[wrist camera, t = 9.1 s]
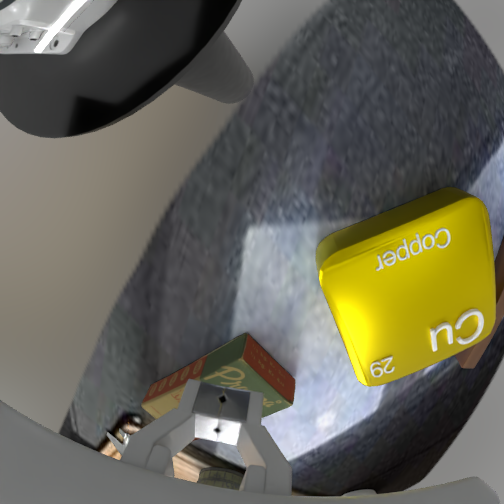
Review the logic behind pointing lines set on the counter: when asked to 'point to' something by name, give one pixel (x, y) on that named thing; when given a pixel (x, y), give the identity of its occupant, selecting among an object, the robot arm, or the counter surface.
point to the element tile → (411, 284)
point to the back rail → (473, 353)
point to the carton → (227, 377)
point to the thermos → (220, 478)
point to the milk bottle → (360, 493)
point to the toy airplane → (117, 443)
